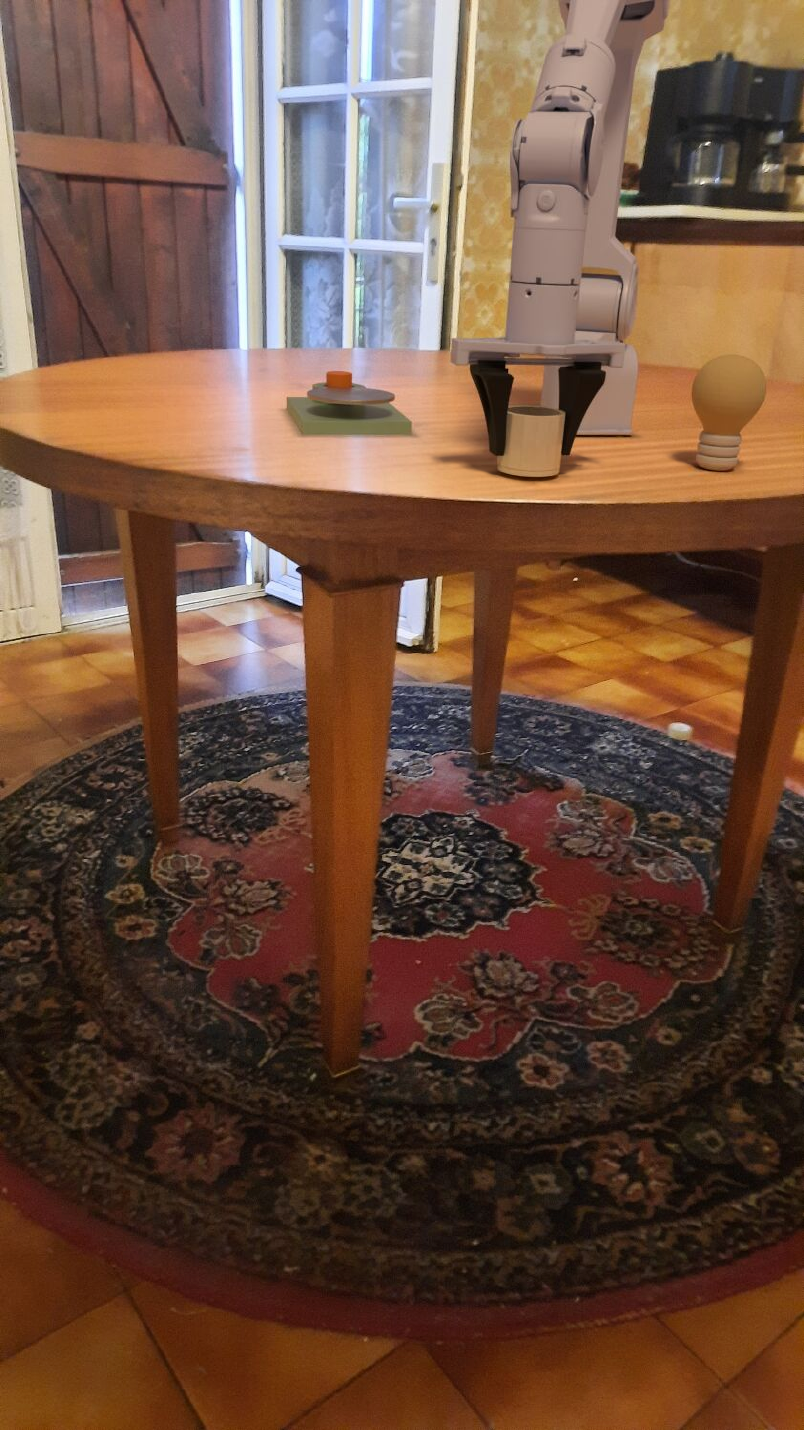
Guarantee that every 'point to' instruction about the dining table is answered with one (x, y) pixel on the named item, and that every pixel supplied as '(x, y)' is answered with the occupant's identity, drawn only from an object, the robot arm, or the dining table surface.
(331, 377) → the orange cylinder
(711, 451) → the light bulb
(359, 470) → the dining table surface
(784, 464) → the dining table surface
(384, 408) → the scale
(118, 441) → the dining table surface
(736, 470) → the dining table surface
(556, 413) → the ramekin
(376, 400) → the weighing pan
